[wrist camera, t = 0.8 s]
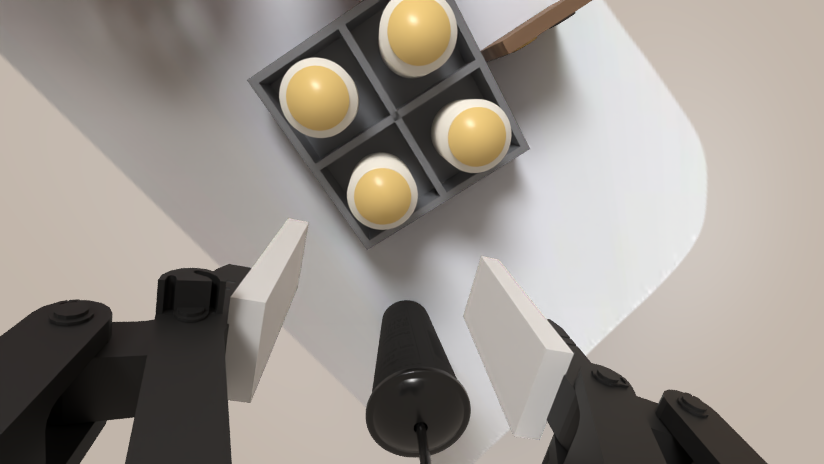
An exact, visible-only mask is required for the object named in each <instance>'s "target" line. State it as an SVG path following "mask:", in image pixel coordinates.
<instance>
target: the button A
mask: <svg viewBox="0 0 824 464" xmlns="http://www.w3.org/2000/svg"><path fill="white" fill-rule="evenodd" d="M279 99H280V105H281V108H282V111H283V113H284V116H285V117H286V119H287V120H288V122H289V123H290V124H291V125H292V126H293V127H294V128H295V129H296V130H298V131H299V132H301V133H303V134H305V135H307V136H310V137H315V138H327V137H331V136H334V135H336V134H338V133H340V132H341V131H343V130H344V129H345V128H346V127H347V126H348V125H349V124H350V123H351V122H352V121H353V120H354V118H355V117H356V115H357V112H358V109H359V92H358V89H357V86H356V84H355V82H354V81H353V79H352V78H351V77H350V76H349V75H348V73H347V72H346V71H345V70H344V69H343V68H342V67H340V66H339V65H338V64H336V63H334V62H332V61H330V60H327V59H323V58H308V59H304V60H301V61H299V62H297V63H296V64H294V65H293V66H292V67H291V68H290V69H289V70H288V71H287V72H286V74H285V75H284V77H283V79H282V82H281V85H280V92H279Z"/></svg>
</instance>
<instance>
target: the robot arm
mask: <svg viewBox="0 0 824 464" xmlns="http://www.w3.org/2000/svg"><path fill="white" fill-rule="evenodd" d="M308 224H309V222H305V221H300V220H295V219H290V218H288V219H287V221H286V222H285V223H284V225H283V226H282V228H281V229H280V230H279V232H278V233H277V234H276V236H275V237H274V238H273V240H272V241H271V243H270V244H269V245H268V247H267V248H266V249H265V251H264V252H263V253H262V255H261V256H260V258H259V259H258V260H257V262H256V263H255V264H254V266H253V267H252V268H248V267H243V266H237V265H231V264H228V265H226V266H223V267H221V268H218V269H216V270H215V271H211V270H207V269H199V268H181V269H176V270H172V271H169V272H167V273H165V274H162V275H161V277H160V278H159V279H158V289H157V303H156V315H155V319H154V320H149V321H138V322H112V312H111V309H110V308H109V307H108V306H106V305H104V304H102V303H99V302H94V301H87V300H69V301H67V300H66V301H60V302H57V303H54V304H50V305H47V306H43V307H41V308H39V309H38V310H36V311H34V312H32V313H31V314H29V315H28V316H27V317H25V318H24V319H23V320H21V321H20V322H19V323H18V324H16V325H15V326H14V327H12V328H11V329H10V330H8V331H7V332H6V333H4V334H3V335H2V336H0V464H80V462H81V461H82V459H83V458H84V456H85V455H86V453H87V452H88V450H89V449H90V447H91V446H92V444H93V443H94V441H95V440H96V437H98V435H99V433H100V432H101V430H102V429H103V427H104V426H105V424H106V421H107V420H114V419H123V418H132V417H135V418H134V423H133V428H132V433H131V437H130V442H129V447H128V452H127V457H126V462H125V464H232V462H231V445H230V428H229V412H228V400H232V401H240V402H247V403H250V402H251V400H252V398H253V395H254V393H255V390H256V388H257V386H258V383H259V381H260V378H261V376H262V373H263V371H264V368H265V366H266V363H267V361H268V359H269V356H270V353H271V351H272V349H273V346H274V344H275V341H276V339H277V337H278V334H279V332H280V329H281V327H282V324H283V322H284V320H285V317H286V315H287V312H288V310H289V307H290V305H291V302H292V300H293V298H294V295H295V293H296V290H297V288H298V282H299V276H300V271H301V265H302V259H303V253H304V247H305V242H306V236H307V230H308ZM463 317H464V319H465V322H466V324H467V326H468V329H469V331H470V334H471V336H472V338H473V341H474V343H475V345H476V348H477V350H478V353H479V355H480V357H481V360H482V362H483V365H484V367H485V369H486V372H487V374H488V376H489V379H490V381H491V384H492V386H493V388H494V391H495V393H496V395H497V398H498V400H499V403H500V405H501V407H502V410H503V412H504V414H505V417H506V419H507V422H508V424H509V426H510V429H511V431H512V434H513V436H514V437H520V438H529V439H536V440H540V439H541V436H542V434H543V431H544V428H545V426H546V423H547V421H548V423H549V425H550V427H551V428H552V430H553V432H554V435H553V437H552V440H551V442H550V445H549V447H548V450H547V452H546V455H545V457H544V460H543V462H542V464H767V463H766V462H765V461H764V460H763V459H762V458H761V457H760V456H759V455H758V454H757V453H756V452H755V451H754V450H753V449H752V448H751V447H750V446H749V445H748V444H747V443H746V441H744V439H742V437H741V436H740V435H739V434H737V432H735V430H734V429H732V427H731V426H729V424H728V423H727V422H726V421H725V420H724V419H723V418H721V417H720V415H719V414H718V413H717V412H715V411H714V410H713V409H712V408H711V407H709V406H708V405H707V404H705V403H703V402H702V401H701V400H700V399H699V398H697V397H695V396H692V395H691V394H689V393H683V392H680V391H677V390H667V391H664V393H663V395H662V397H661V399H660V401H659V403H655V402H652V401H649V400H647V399H643V398H641V397H638V396H636V394H635V392H634V390H633V388H632V386H631V385H630V383H629V382H628V381H627V380H626V379H625V378H624V377H622V376H621V375H619V374H618V373H616V372H614V371H612V370H611V369H609V368H606V367H604V366H601V365H597V364H593V363H591V362H590V361H589V360H588V359H587V357H586V356H585V355H584V354H583V352H582V351H581V350H580V349H579V348H578V347H577V346H576V344H575V343H574V342H573V340H572V339H570V337H569V336H568V335H567V333H566V332H565V331H564V330H563V329H562V328H561V327H560V326H558V325H557V324H556V323H554V322H553V321H552V320H550V319H546V318H545V317H544V315H543V314H542V313H541V312H540V310H539V309H538V308H537V307H536V305H535V304H534V303H533V302H532V300H531V299H530V298H529V297H528V295H527V294H526V293H525V292H524V290H523V289H522V288H521V287H520V285H519V284H518V283H517V282H516V280H515V279H514V278H513V277H512V275H511V274H510V273H509V272H508V270H507V269H506V268H505V267H504V265H503V264H502V263H501V262H500V260H499V259H493V258H488V257H483V256H481V258H480V261H479V265H478V268H477V271H476V275H475V278H474V281H473V285H472V288H471V291H470V295H469V298H468V301H467V305H466V308H465V312H464V315H463Z"/></svg>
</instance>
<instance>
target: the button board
mask: <svg viewBox="0 0 824 464" xmlns="http://www.w3.org/2000/svg"><path fill="white" fill-rule="evenodd" d="M390 1H391V0H364V1H362V2H361V3H359V4H358V5H356V6H355V7H354V8H352V9H351V10H349V11H348V12H346V13H345V14H343V15H342V16H340V17H339V18H337V19H336V20H334V21H333V22H332V23H330V24H329V25H327V26H326V27H324V28H323V29H321V30H320V31H318V32H317V33H315V34H314V35H312V36H311V37H310V38H308V39H307V40H305V41H304V42H302V43H301V44H299V45H298V46H296V47H295V48H293V49H292V50H290V51H289V52H288V53H286V54H285V55H283V56H282V57H280V58H279V59H277V60H276V61H274V62H273V63H271V64H270V65H268V66H267V67H265V68H264V69H263V70H261V71H260V72H258V73H257V74H255V75H254V76H252V77H251V78H249V79H248V80H247V81H248V82H249V84H250V85H251V87H252V88H253V89H254V91H255V92H256V94H257V95H258V96H259V98H260V99H261V101H262V102H263V104H264V105H265V106H266V108H267V109H268V111H269V112H270V113H271V115H272V116H273V118H274V119H275V120H276V122H277V123H278V125H279V126H280V128H281V129H282V130H283V132H284V133H285V135H286V136H287V137H288V139H289V140H290V142H291V143H292V145H293V146H294V147H295V149H296V150H297V152H298V153H299V154H300V156H301V157H302V159H303V160H304V161H305V163H306V164H307V166H308V167H309V169H310V170H311V171H312V173H313V174H314V176H315V177H316V178H317V180H318V181H319V183H320V184H321V186H322V187H323V188H324V190H325V191H326V193H327V194H328V195H329V197H330V198H331V200H332V201H333V202H334V204H335V205H336V207H337V208H338V210H339V211H340V212H341V214H342V215H343V217H344V218H345V219H346V221H347V222H348V224H349V225H350V227H351V228H352V229H353V231H354V232H355V234H356V235H357V236H358V238H359V239H360V241H361V242H362V243H363V245H364V246H365V248H366V249H367V250H368V249H369V248H371V247H373V246H374V245H376V244H377V243H379V242H381V241H382V240H384V239H386V238H387V237H389V236H390V235H392V234H394V233H395V232H397V231H398V230H400V229H402V228H403V227H405V226H406V225H408V224H410V223H411V222H413V221H415V220H416V219H418V218H419V217H421V216H423V215H424V214H426V213H427V212H429V211H431V210H432V209H434V208H436V207H437V206H439V205H440V204H442V203H444V202H445V201H447V200H448V199H450V198H452V197H453V196H455V195H456V194H458V193H460V192H461V191H463V190H465V189H466V188H468V187H469V186H471V185H473V184H474V183H476V182H477V181H479V180H481V179H482V178H484V177H485V176H487V175H489V174H490V173H492V172H494V171H495V170H497V169H498V168H500V167H502V166H503V165H505V164H506V163H508V162H510V161H511V160H513V159H515V158H516V157H518V156H519V155H521V154H523V153H524V152H526V151H527V150H529V149H530V148H529V146H528V144H527V142H526V140H525V138H524V136H523V134H522V132H521V130H520V128H519V126H518V124H517V122H516V120H515V118H514V116H513V114H512V112H511V110H510V108H509V106H508V104H507V102H506V100H505V99H504V97H503V95H502V93H501V91H500V89H499V87H498V85H497V83H496V81H495V79H494V77H493V75H492V73H491V71H490V69H489V67H488V65H487V63H486V61H485V59H484V57H483V55H482V53H481V51H480V49H479V48H478V46H477V44H476V42H475V40H474V38H473V36H472V34H471V32H470V30H469V28H468V26H467V24H466V22H465V20H464V18H463V16H462V14H461V12H460V10H459V8H458V6H457V4H456V2H455V0H445V1H446V2H447V3H448V4H449V6H450V7H451V9H452V11H453V13H454V15H455V19H456V23H457V40H456V44H455V48H454V50H453V52H452V54H451V56H450V57H449V59H448V60H447V61H446V62H445V63H444V64H443V65H442V66H441V67H439V68H438V69H436V70H434V71H433V72H431V73H429V74H427V75H425V76H422V77H419V78H404V77H401V76H399V75H397V74H395V73H394V72H392V71H391V70H390V69H389V68H388V67H387V66H386V64H385V63H384V61H383V59H382V57H381V54H380V51H379V44H378V39H379V27H380V21H381V17H382V14H383V11H384V10H385V8H386V6H387V5H388V3H389V2H390ZM308 58H323V59H327V60H330V61H332V62H334V63H336V64H338V65H339V66H340V67H342V68H343V69H344V70H345V71H346V72H347V73H348V75H349V76H350V77H351V78H352V79H353V81H354V82H355V84H356V86H357V89H358V92H359V109H358V112H357V115H356V117H355V118H354V120H353V121H352V122H351V123H350V124H349V125H348V126H347V127H346V128H345V129H344V130H343V131H341V132H340V133H338V134H336V135H334V136H331V137H327V138H315V137H310V136H307V135H305V134H303V133H301V132H299V131H298V130H296V129H295V128H294V127H293V126H292V125H291V124H290V123H289V122H288V120H287V119H286V117H285V116H284V113H283V111H282V108H281V105H280V99H279V92H280V85H281V82H282V79H283V77H284V75H285V74H286V72H287V71H288V70H289V69H290V68H291V67H292V66H293V65H294V64H296V63H297V62H299V61H301V60H304V59H308ZM466 99H482V100H487V101H490V102H492V103H494V104H496V105H497V106H499V107H500V108H501V109H502V110H503V111H504V113H505V114H506V116H507V117H508V120H509V122H510V126H511V142H510V146H509V149H508V151H507V153H506V155H505V156H504V158H503V159H502V160H501V161H500V162H499V163H498V164H497V165H496V166H494V167H493V168H491V169H489V170H487V171H484V172H480V173H469V172H464V171H461V170H459V169H457V168H456V167H454V166H453V165H452V164H451V163H449V162H448V161H447V160H445V159H444V158H443V157H442V156H441V155H440V154H439V153H438V152H437V151H436V149H435V147H434V145H433V143H432V139H431V127H432V123H433V120H434V118H435V116H436V114H437V113H438V111H439V110H440V109H441V108H442V107H444V106H445V105H446V104H448V103H450V102H452V101H456V100H466ZM378 152H385V153H389V154H392V155H395V156H397V157H398V158H400V159H401V160H402V161H403V162H404V163H405V164H406V166H407V167H408V169H409V171H410V173H411V175H412V177H413V179H414V181H415V183H416V186H417V192H418V199H417V204H416V207H415V210H414V212H413V213H412V215H411V216H410V217H409V219H407V220H406V221H405V222H404V223H403V224H401V225H399V226H397V227H395V228H392V229H386V230H379V229H373V228H370V227H368V226H366V225H364V224H362V223H361V222H360V221H358V220H357V219H356V217H355V216H354V215H353V213H352V212H351V210H350V208H349V205H348V200H347V190H348V186H349V182H350V179H351V175H352V172H353V170H354V168H355V166H356V165H357V163H358V162H359V161H360V160H361V159H363V158H364V157H366V156H367V155H370V154H372V153H378Z"/></svg>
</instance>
